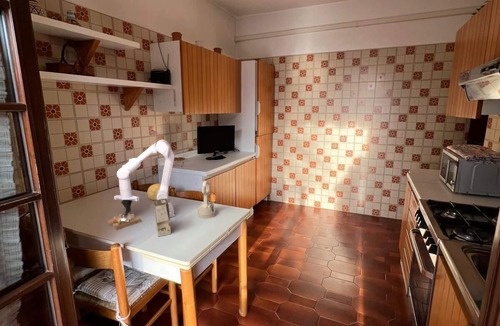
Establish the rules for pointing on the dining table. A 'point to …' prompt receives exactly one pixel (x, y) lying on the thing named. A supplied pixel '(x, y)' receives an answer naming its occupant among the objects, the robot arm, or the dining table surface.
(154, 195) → the sculpture
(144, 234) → the dining table surface
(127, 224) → the index board
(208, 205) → the engine component
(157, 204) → the coffee box
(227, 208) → the dining table surface
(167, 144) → the robot arm
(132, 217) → the sprocket
